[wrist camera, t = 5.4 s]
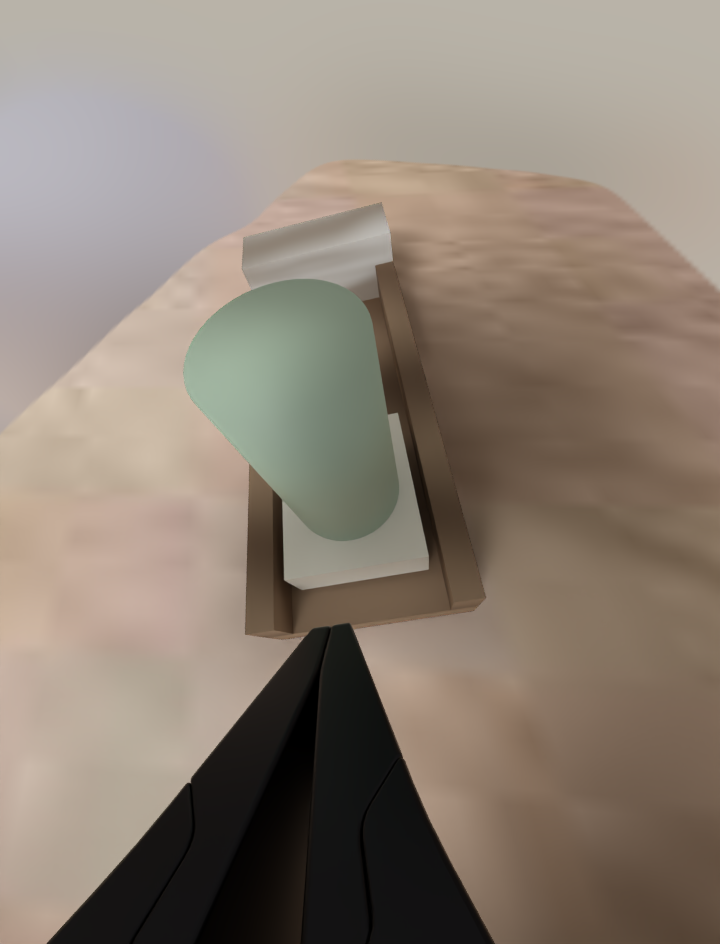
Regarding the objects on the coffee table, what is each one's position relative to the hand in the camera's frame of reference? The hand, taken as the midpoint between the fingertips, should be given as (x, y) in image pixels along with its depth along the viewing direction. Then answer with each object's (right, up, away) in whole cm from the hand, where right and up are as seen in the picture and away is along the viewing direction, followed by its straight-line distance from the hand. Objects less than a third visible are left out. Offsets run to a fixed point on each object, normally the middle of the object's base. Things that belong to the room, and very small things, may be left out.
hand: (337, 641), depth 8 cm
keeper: (0, +2, +8) cm, 8 cm away
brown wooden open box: (0, +7, +12) cm, 14 cm away
